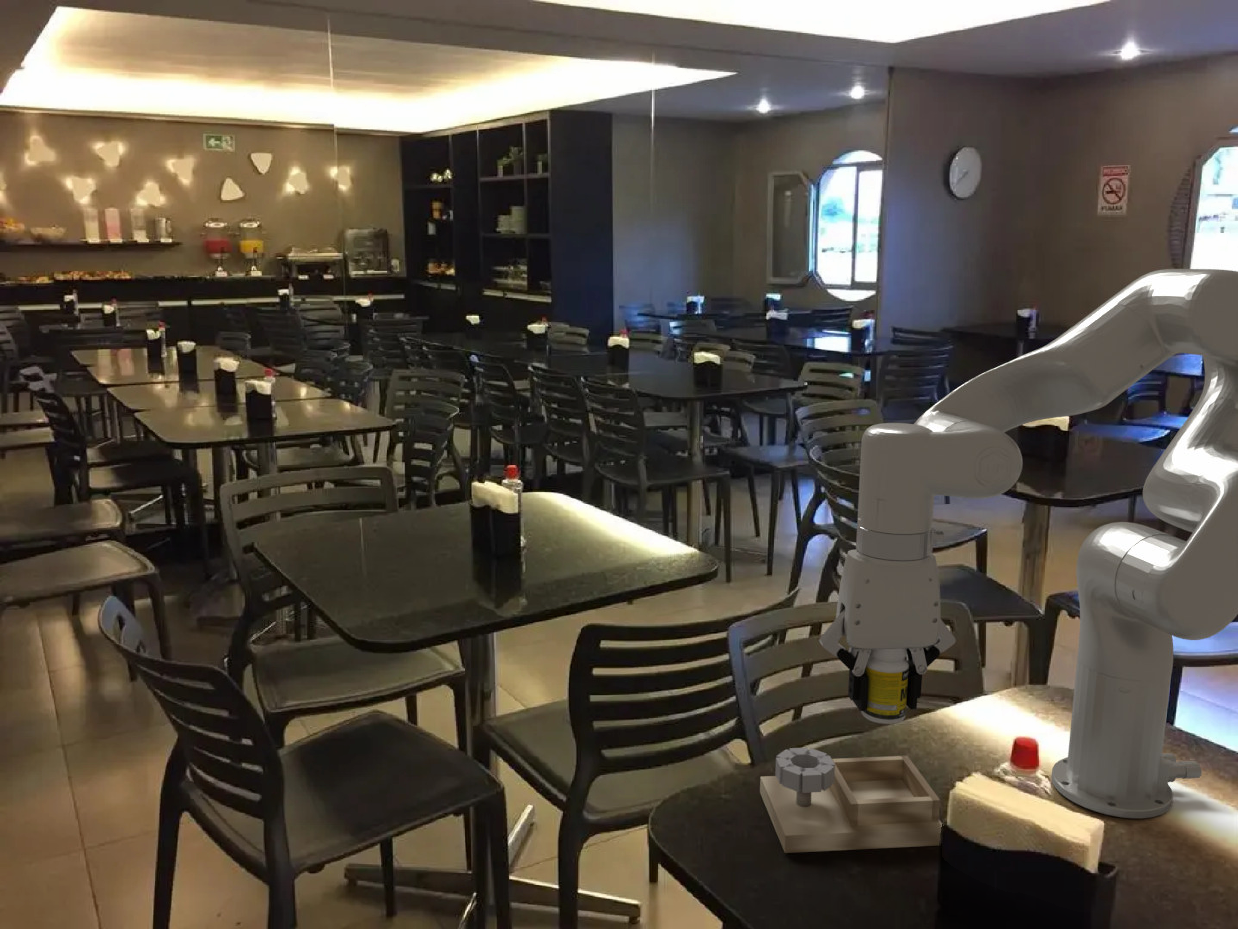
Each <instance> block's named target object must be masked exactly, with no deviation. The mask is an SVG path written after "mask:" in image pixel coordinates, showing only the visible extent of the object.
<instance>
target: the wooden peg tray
mask: <svg viewBox="0 0 1238 929" xmlns="http://www.w3.org/2000/svg"><path fill="white" fill-rule="evenodd" d="M831 759H832V760H833V762H834V764H835V775H834V784H833V785H831V786H830V787H829V788H828V789H826V790H825V791H823V790H821V792H811V793H802V790H801V791H799V792H797V791H794V790H791V789H789V788H786V787H784V786H782V784H779V781H778V779H777V777H776V775H770V776H769V775H767V776H766V775H765V776H760V782H759V783H760V785H759V794H760V796H761V798H762V801H763V804H764V805H765V808H766V810H767V813H768V815H769V817H770V818H769V819H770V821H771V823H772V825H773V828H774V830H775V832H776V835H777V837H778V839H779V842H780V844H781V847H782V849H783V850H782V851H783V852H784V854H789V853H791V854H792V853H809V852H810V853H811V852H831V851H849V850H850V851H853V850H869V849H870V850H871V849H872V850H873V849H891V848H893V849H894V848H910V847H911V848H912V847H931V846H932V847H933V846H934V847H935V846H940V845H939V841H940V833H941V827H942V824H943V823H942V822H941V820H940V810H941V809H940V808H941V807H940V806H941V799H940V798H939V797H938V795H937V794H936V792H935V791H934V790H933V788H932V787H931V786H930V784H929V783H928V782H927V780H926V779H925V777H924V776H923V775H922V773H921V772H920V770H919V769H918V768H917V767H916V765H915V764H914V763H913V762H912V760H911V759H910V756H908V755H897V756H896V755H893V756H892V755H891V756H890V755H889V756H870V757H848V758H847V757H845V758H831Z"/></svg>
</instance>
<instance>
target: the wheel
mask: <svg viewBox="0 0 1238 929" xmlns="http://www.w3.org/2000/svg"><path fill="white" fill-rule="evenodd" d="M832 759H833V758H832V757H831V756H830V755H828V753H826V752H823V751H820V750H818V749H815V748H812V747H811V748H809V749H808V747H792V748H791V747H790V748H789V749H785V750H783V751H781V752H780V753H779V754H777V755H776V757H775V775H774V776H776V777H777V779H778V781H779V784H782V786H784V787H786V788H789V789H791V790H794V791H797V792H799V791H801V790H802V793H811V792H821V790H823V791H825V790H826V789H828V788H829V787H830V786H831V785H833V784H834V775H835V764H834V762H833V760H832Z"/></svg>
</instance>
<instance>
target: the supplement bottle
mask: <svg viewBox="0 0 1238 929" xmlns="http://www.w3.org/2000/svg"><path fill="white" fill-rule="evenodd" d="M906 654H907V652H906V649H899V648H897V649H882V650H871V653H870V656H869V659H868V662H867V665H866V668H865V673H866V675H867V676H868V678H869V685H868V703H867V710H865V711H860V712H861V715H862V716H863V717H864V718H865V719H867V720H868V721H871V722H873V723H877V724H885V725H886V724H887V725H893V724H899V723H901V722H902V721H904V719H905V718H906V714H907V705H906V701H907V686H908V671H909V665H908V662H907V657H906Z"/></svg>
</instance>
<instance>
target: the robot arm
mask: <svg viewBox="0 0 1238 929" xmlns="http://www.w3.org/2000/svg"><path fill="white" fill-rule="evenodd" d="M1177 354H1186V355H1187V354H1188V355H1194V356H1195V355H1198V356H1202V357H1203V358H1202V359H1203V363H1204V364H1203V365H1204V385H1203V388H1202V392H1201V394H1200V397H1199V400H1198V401H1197V403H1196V404H1195V406H1194V408H1193V409H1192V411H1191V412H1190V414H1189V416H1188V417H1187V418H1186V420H1185V422H1183V424H1182V426H1181V427H1180V429H1179V430H1178V431H1177V433H1176V434H1175V436H1173V439H1172V440H1171V441H1170V443H1169V444H1168V445H1167V447H1166V449H1165V450H1164V451H1163V452H1162V454H1161V455H1160V457H1159V458H1158V460H1157V461H1156V463H1155V464H1154V465H1153V467H1152V468H1151V470H1150V472H1149V473H1148V475H1147V477H1146V479H1145V482H1144V485H1143V488H1142V499H1143V503H1144V505H1145V506H1146V507H1147V509H1148V511H1149V512H1150V513H1152V515H1154V516H1155V517H1157V519H1160V520H1161V521H1163V522H1165V523H1167V524H1170V525H1172V526H1174V527H1177V528H1179V529H1182V530H1184V531H1186V532H1190V533H1191V534H1190V536H1189V537H1188V539H1187V540H1184V539H1181V538H1179V537H1176V536H1174V535H1171V534H1168V533H1166V532H1163V531H1160V530H1159V529H1158V530H1157V529H1155V528H1153V527H1149V526H1147V525H1144V524H1140V523H1136V522H1129V521H1127V522H1126V521H1116V522H1109V523H1107V524H1104V525H1101V526H1099V527H1098V528H1096V529H1094V530H1093V531H1092V532H1091V533H1089V534H1088V536H1087V537H1086V538H1085V539H1084V541H1083V542H1082V544H1081V546H1080V547H1079V548H1080V549H1079V552H1078V554H1077V560H1076V584H1077V593H1078V600H1079V602H1078V603H1079V637H1078V649H1077V657H1076V658H1077V659H1076V668H1075V677H1074V678H1075V680H1074V689H1073V690H1074V691H1073V700H1072V709H1071V710H1072V711H1071V722H1070V733H1069V743H1068V752H1067V754H1068V755H1067V757H1064V758H1062V759H1060V760H1058V761H1056V762H1055V763H1054V764H1053V766H1052V769H1051V776H1050V777H1051V782H1052V783H1053V786H1054V787H1055V789H1057V791H1058V792H1059V793H1060V794H1061V795H1062V796H1064V797H1065V798H1066V799H1067V800H1069V801H1071V802H1073V803H1074V804H1076V805H1078V806H1081V807H1082V808H1085V809H1088V810H1090V811H1093V812H1096V813H1099V814H1102V815H1103V814H1104V815H1107V816H1112V817H1117V818H1124V819H1148V818H1154V817H1159V816H1161V815H1163V814H1165V813H1167V812H1168V811H1169V810H1170V809H1171V808H1172V805H1173V802H1174V801H1173V800H1174V799H1173V798H1174V792H1173V790H1172V788H1171V786H1170V785H1169V783H1174V782H1175V781H1176V779H1182V780H1183V779H1184V780H1185V779H1187V780H1188V779H1200V778H1201V776H1202V768H1201V765H1200V763H1198V762H1197V760H1196V761H1195V760H1185V761H1184V760H1182V761H1180V760H1179V761H1177V757H1176V756H1175V754H1174V753H1172V752H1169V753H1168V752H1167V753H1166V752H1165V753H1163V750H1164V749H1163V748H1164V741H1165V732H1166V724H1167V714H1168V706H1169V705H1168V704H1169V698H1170V687H1171V680H1172V673H1173V667H1174V666H1173V664H1174V640H1173V637H1175V638H1177V639H1178V638H1179V639H1182V640H1186V641H1201V640H1204V639H1208V638H1209V639H1210V638H1211V637H1213V636H1215V635H1217V634H1218V633H1220V632H1222V631H1223V630H1224V629H1225V628H1226V627H1228V626H1229V625H1230V624H1231V623H1232V622H1233V620H1235V618H1237V616H1238V270H1232V269H1231V270H1228V269H1218V268H1217V269H1215V268H1212V269H1211V268H1207V269H1206V268H1166V269H1165V268H1164V269H1158V270H1154V271H1150V272H1148V273H1146V274H1145V273H1144V274H1143V275H1142V276H1139V277H1138V278H1137V279H1135V280H1133V281H1132V282H1130V283H1129V284H1128V285H1126V286H1125V287H1123V288H1122V289H1121V290H1120V291H1118V292H1117V293H1116V294H1114V295H1113V296H1111V297H1110V298H1109V299H1107V300H1106V301H1105V302H1104V303H1102V304H1101V305H1099V306H1098V307H1097V308H1096V309H1094V310H1093V311H1092V312H1090V313H1089V314H1088V315H1086V316H1085V317H1084V318H1082V319H1081V320H1080V321H1078V322H1077V323H1076V324H1075V325H1073V326H1071V327H1070V328H1068V330H1066V331H1065V332H1063V333H1062V334H1061V335H1059V336H1058V337H1057V338H1055V339H1054V340H1052V341H1050V342H1049V343H1048V344H1046V345H1044V346H1042V347H1040V348H1038V349H1035V350H1033V351H1029V352H1028V353H1025V354H1022V355H1020V356H1018V357H1016V358H1014V359H1012V360H1010V361H1008V362H1005V363H1002V364H1001V365H998V366H997V367H994V368H991V369H989V370H987V371H985V372H983V373H981V374H979V375H977V376H975V377H973V378H971V379H969V380H968V381H966V382H964V383H963V384H961V385H960V386H958V387H957V388H955V389H954V390H952V391H951V392H949V394H948V393H947V395H946V396H944V397H943V398H941V399H940V400H939V401H938V402H936V403H935V404H934V405H932V406H931V407H930V408H928V409H927V410H926V411H925V412H923V413H922V415H921V416H919V417H918V418H917V420H916V421H915V422H914V423H907V422H906V423H904V422H886V423H885V422H884V423H878V424H877V423H876V424H873V425H871V426H869V427H867V428H866V430H865V431H864V432H863V434H862V436H861V437H862V438H861V444H860V463H859V465H860V466H859V483H858V488H859V489H858V504H857V505H858V506H857V524H856V538H855V539H856V543H855V549H851V550H850V549H849V550H848V551H847V554H846V557H845V561H844V564H843V569H842V575H841V579H840V584H839V590H838V597H837V605H836V616H835V619H834V620H833V622H832V623H831V624H830V626H828V628H827V629H826V630H825V631H824V632H823V634H822V635H821V636H820V638H819V640H818V641H819V644H820V645H821V646H822V648H823V649H824V650H826V651H827V652H828V653H830V654H831V655H833V656H834V657H836V658H837V659H839V661H840V662H841V663H842V664H843V665H844V666H845V667H846V668H847V669H848V687H847V689H848V690H847V691H848V692H847V693H848V694H847V695H848V698H849V699H850V701H852V702H853V704H854V705H855V706H856V707H857V709H858V711H859V712H861V711H865V710H867V703H868V685H869V678H868V676H867V675H866V673H865V668H866V665H867V662H868V659H869V656H870V653H871V650H882V649H897V648H899V649H906V652H907V654H906V657H905V658H906V660H907V662H908V665H909V671H908V686H907V701H906V707H907V708H908V709H910V710H917V707H918V699H920V698H921V697H922V684H923V683H922V682H923V675H924V674H926V673H927V671H928V667H929V666H930V665H931V664H932V663H934V662H935V660H936V659H938V658H939V657H940V655H941V653H944V652H945V651H947V650H948V649H949V648H951V647H952V646H954V645H955V644H956V641H957V640H956V639H957V638H956V637H955V636H954V634H953V633H952V631H950V629H949V628H948V627H947V625H946V623H945V622H944V621H943V620H942V619H941V618H942V617H941V588H940V580H939V578H940V577H939V570H938V564H937V558H936V555H935V554H933V548H934V546H935V545H937V544H943V543H944V542H945V533H944V531H943V530H936V529H934V527H933V519H934V518H933V516H934V504H935V502H934V501H935V497H936V496H944V497H955V498H964V499H971V500H972V499H973V500H984V499H991V498H995V497H997V496H1000V495H1002V494H1004V493H1006V492H1007V491H1008V490H1010V489H1011V488H1012V487H1013V486H1014V485H1015V484H1016V483H1017V481H1018V480H1019V478H1020V477H1021V474H1022V471H1023V463H1024V462H1023V456H1022V452H1021V449H1020V448H1019V446H1018V443H1016V442H1015V440H1014V439H1013V438H1012V437H1011V436H1010V435H1008V434H1006V432H1008V431H1010V430H1012V429H1014V428H1017V427H1019V426H1022V425H1027V424H1029V423H1033V422H1036V421H1042V420H1047V419H1048V420H1049V419H1055V418H1062V417H1063V418H1064V417H1071V416H1076V415H1077V416H1078V415H1080V414H1084V413H1089V412H1093V411H1095V410H1099V409H1101V408H1103V407H1106V406H1107V405H1108V404H1109V403H1111V402H1112V401H1113V400H1115V399H1116V398H1117V397H1119V396H1120V395H1122V393H1124V392H1126V391H1127V390H1128V389H1129V388H1130V387H1131V386H1133V385H1134V384H1135V383H1136V382H1138V381H1139V380H1141V379H1142V378H1144V377H1145V376H1146V375H1148V374H1149V373H1150V372H1152V370H1154V369H1155V368H1157V367H1159V366H1160V365H1161V364H1163V363H1164V362H1166V361H1167V360H1168V359H1170V358H1171V357H1173V356H1175V355H1177ZM842 636H844V637H846V638H845V640H846V643H847V646H848V647H849V649H847V648H846V647H845V646H843V645H842V644H840V643H839V641H840V639H841V638H842Z"/></svg>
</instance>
